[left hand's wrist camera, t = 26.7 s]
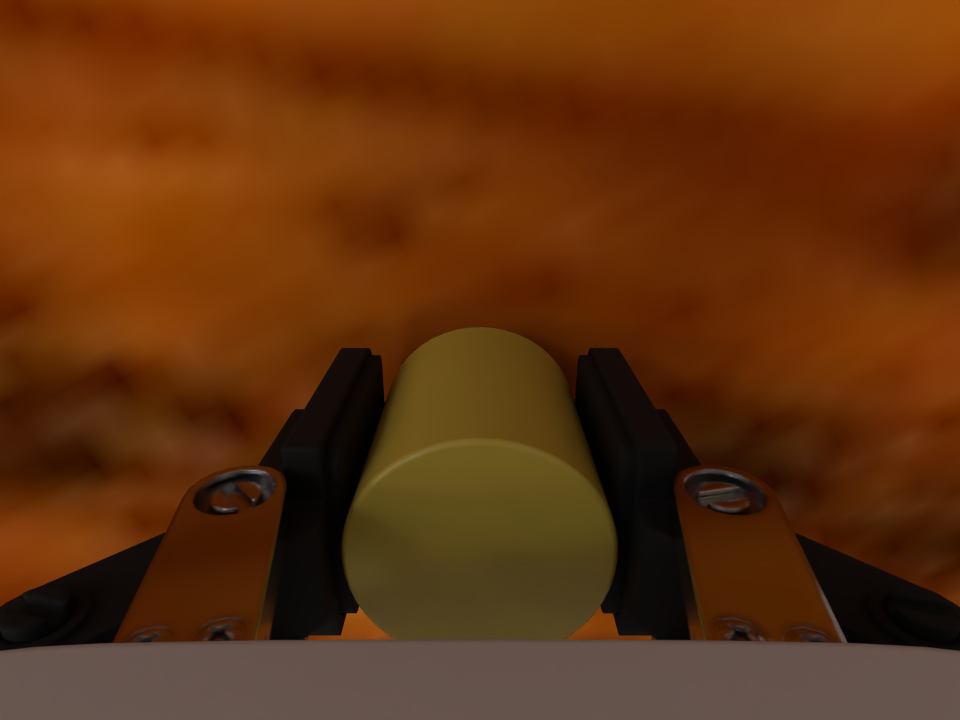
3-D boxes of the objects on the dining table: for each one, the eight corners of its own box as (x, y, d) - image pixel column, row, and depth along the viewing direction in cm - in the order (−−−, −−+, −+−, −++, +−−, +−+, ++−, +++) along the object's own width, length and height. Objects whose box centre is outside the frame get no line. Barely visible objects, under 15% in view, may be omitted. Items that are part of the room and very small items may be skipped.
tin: (588, 338, 12) (649, 458, 8) (553, 500, 13) (589, 677, 9) (394, 314, 11) (347, 423, 7) (380, 480, 13) (333, 652, 9)
